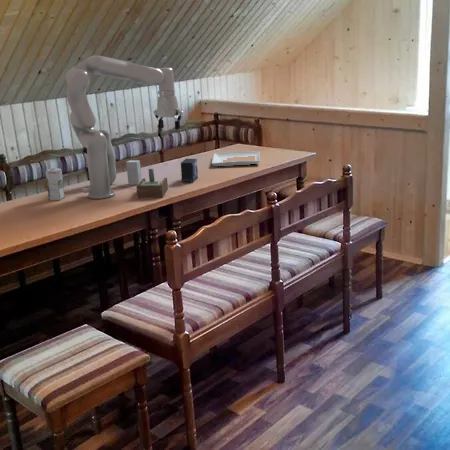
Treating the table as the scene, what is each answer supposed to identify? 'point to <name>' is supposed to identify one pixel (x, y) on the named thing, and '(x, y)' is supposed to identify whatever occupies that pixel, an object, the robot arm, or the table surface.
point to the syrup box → (55, 184)
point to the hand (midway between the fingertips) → (169, 128)
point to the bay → (152, 190)
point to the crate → (151, 179)
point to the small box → (189, 170)
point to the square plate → (220, 157)
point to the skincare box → (133, 172)
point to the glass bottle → (110, 157)
